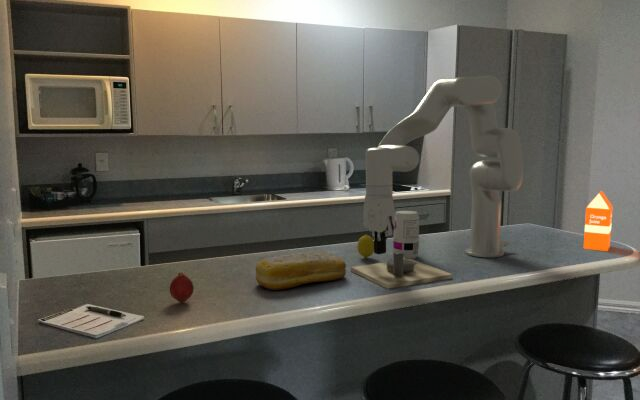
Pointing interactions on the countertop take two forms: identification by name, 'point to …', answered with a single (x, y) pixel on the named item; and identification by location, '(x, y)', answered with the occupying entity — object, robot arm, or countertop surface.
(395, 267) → the dark grey handled piece
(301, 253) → the bread
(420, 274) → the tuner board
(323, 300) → the countertop surface
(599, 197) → the orange juice
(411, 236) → the supplement can
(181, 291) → the onion
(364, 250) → the lemon
